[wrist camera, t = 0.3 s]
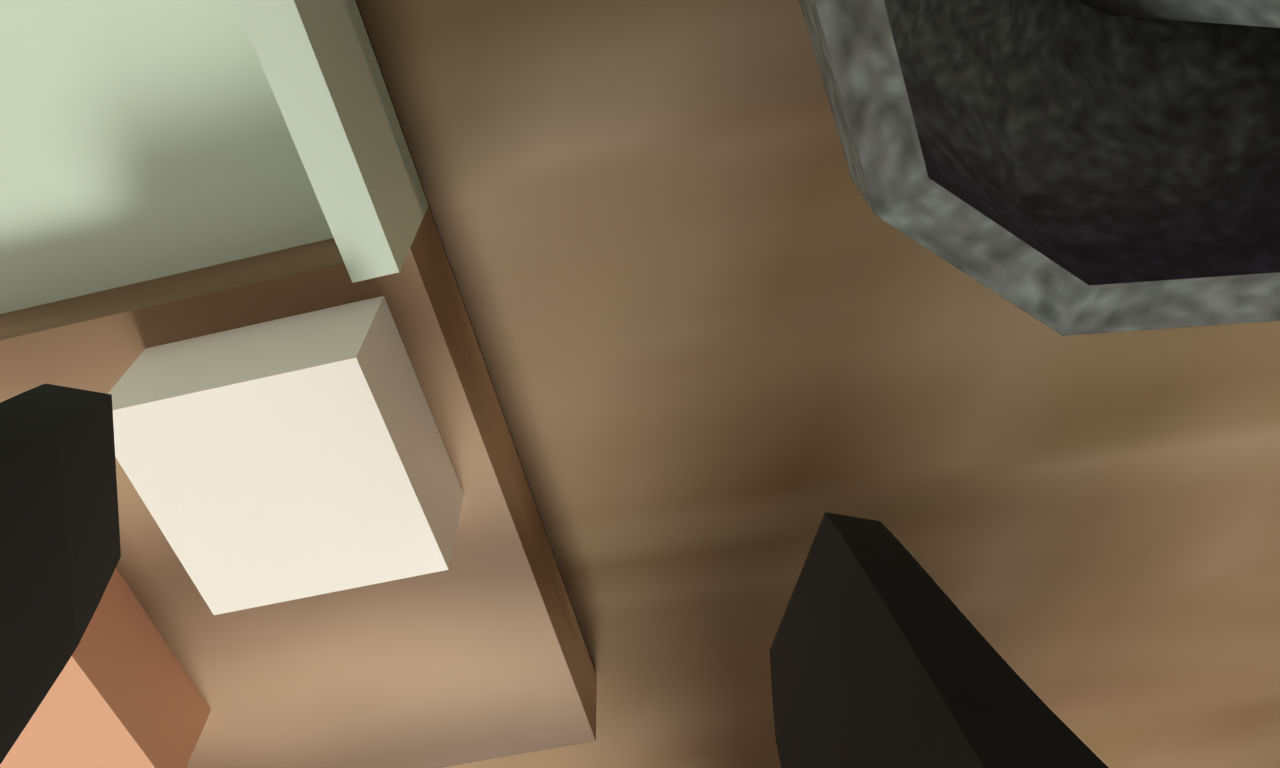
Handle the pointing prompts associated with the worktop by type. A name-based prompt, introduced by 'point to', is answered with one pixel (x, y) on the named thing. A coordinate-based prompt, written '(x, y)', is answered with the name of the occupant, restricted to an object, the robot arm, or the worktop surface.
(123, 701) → the terracotta tile
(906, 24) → the mortar and pestle
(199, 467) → the cream tile
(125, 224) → the tray
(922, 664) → the robot arm
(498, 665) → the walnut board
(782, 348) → the worktop surface
